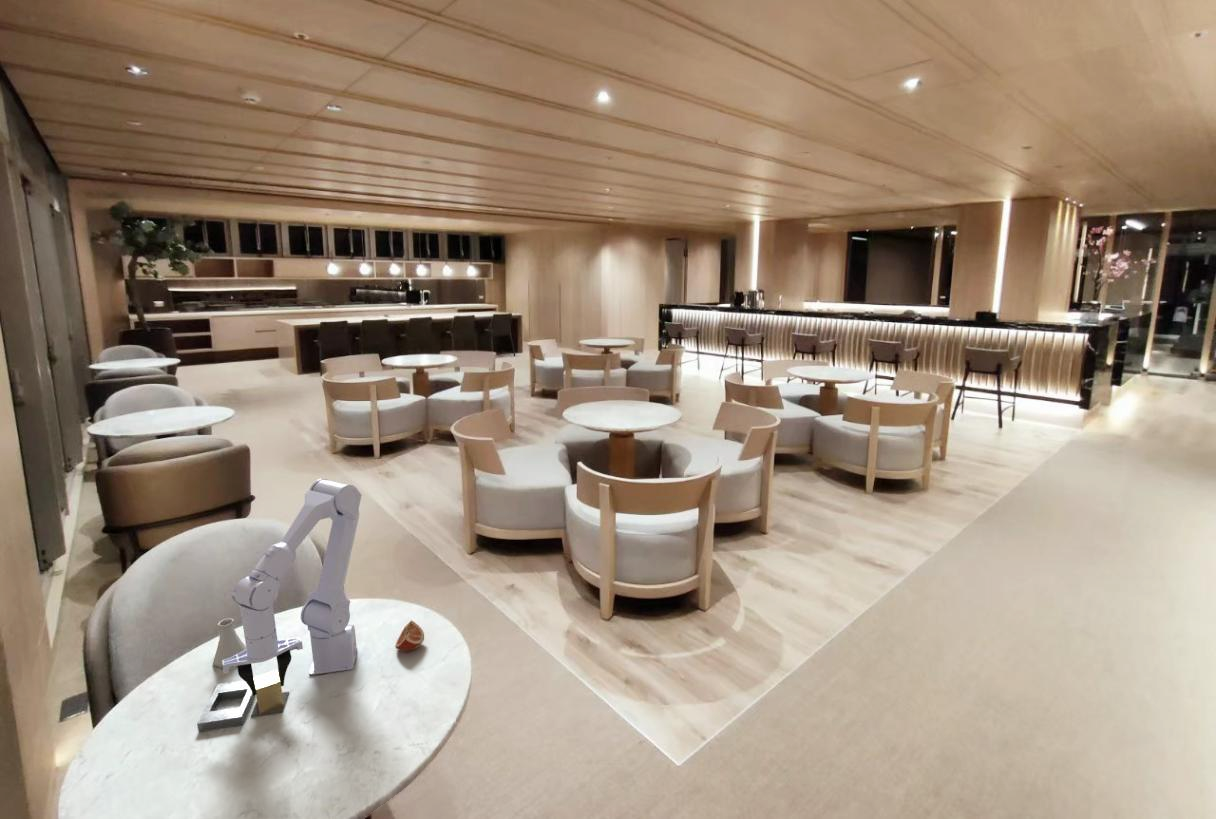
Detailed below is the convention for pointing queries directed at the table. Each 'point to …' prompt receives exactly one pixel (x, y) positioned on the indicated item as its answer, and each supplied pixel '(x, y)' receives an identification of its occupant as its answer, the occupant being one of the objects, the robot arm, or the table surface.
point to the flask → (227, 642)
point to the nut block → (268, 691)
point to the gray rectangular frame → (227, 716)
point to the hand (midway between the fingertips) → (268, 688)
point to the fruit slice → (410, 637)
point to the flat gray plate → (276, 710)
